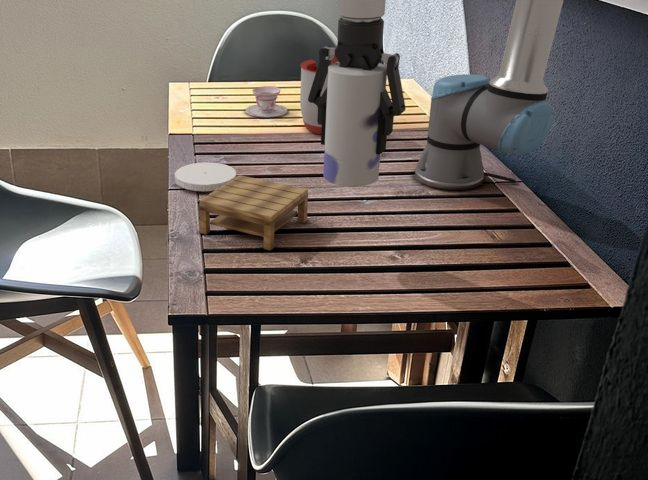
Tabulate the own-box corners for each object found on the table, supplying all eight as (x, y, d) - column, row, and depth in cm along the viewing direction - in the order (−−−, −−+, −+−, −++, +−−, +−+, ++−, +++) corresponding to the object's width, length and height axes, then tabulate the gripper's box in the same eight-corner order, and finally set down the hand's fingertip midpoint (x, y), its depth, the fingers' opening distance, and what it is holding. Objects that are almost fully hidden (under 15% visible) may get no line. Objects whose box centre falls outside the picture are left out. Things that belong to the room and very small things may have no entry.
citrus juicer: (344, 116, 227) (349, 43, 217) (364, 136, 212) (370, 58, 202) (290, 120, 225) (292, 45, 214) (306, 140, 210) (309, 61, 200)
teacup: (260, 103, 239) (261, 82, 235) (295, 110, 233) (296, 88, 229) (237, 113, 230) (237, 91, 227) (272, 120, 224) (273, 98, 221)
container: (377, 189, 143) (386, 75, 133) (320, 185, 145) (325, 73, 135) (379, 168, 152) (388, 60, 141) (326, 165, 153) (331, 58, 143)
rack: (307, 220, 167) (308, 188, 163) (270, 250, 155) (270, 217, 151) (239, 205, 174) (239, 174, 170) (199, 233, 162) (198, 200, 159)
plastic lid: (240, 174, 190) (240, 163, 188) (231, 197, 178) (231, 186, 177) (182, 171, 192) (181, 161, 190) (169, 193, 180) (168, 183, 179)
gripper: (435, 19, 132) (420, 150, 143) (309, 7, 142) (305, 131, 153) (419, 28, 126) (405, 164, 138) (290, 15, 136) (287, 143, 148)
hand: (352, 147), depth 145 cm, fingers closed on container, 10 cm apart
